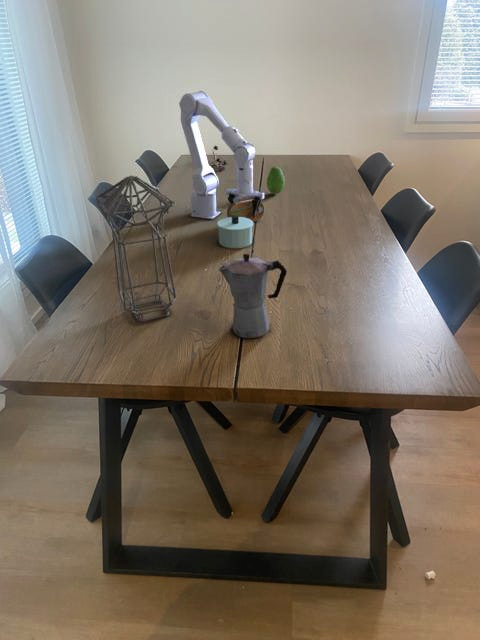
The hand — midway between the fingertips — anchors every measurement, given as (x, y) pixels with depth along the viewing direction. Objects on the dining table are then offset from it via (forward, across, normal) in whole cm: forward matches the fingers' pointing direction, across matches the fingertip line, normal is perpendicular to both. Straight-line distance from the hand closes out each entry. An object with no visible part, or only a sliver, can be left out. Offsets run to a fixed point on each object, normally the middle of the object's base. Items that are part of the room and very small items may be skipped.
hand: (245, 215), depth 172 cm
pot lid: (-4, +4, -19) cm, 20 cm away
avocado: (-4, 0, +38) cm, 38 cm away
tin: (+3, 0, 0) cm, 3 cm away
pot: (+3, +4, -19) cm, 20 cm away
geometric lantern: (+3, +1, -70) cm, 70 cm away
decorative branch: (+3, -45, +74) cm, 87 cm away
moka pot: (+3, +29, -68) cm, 74 cm away
